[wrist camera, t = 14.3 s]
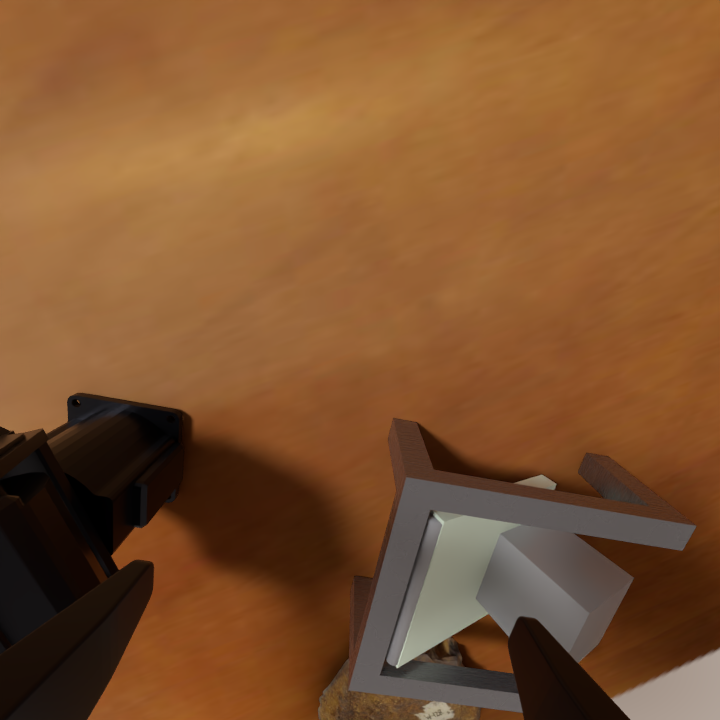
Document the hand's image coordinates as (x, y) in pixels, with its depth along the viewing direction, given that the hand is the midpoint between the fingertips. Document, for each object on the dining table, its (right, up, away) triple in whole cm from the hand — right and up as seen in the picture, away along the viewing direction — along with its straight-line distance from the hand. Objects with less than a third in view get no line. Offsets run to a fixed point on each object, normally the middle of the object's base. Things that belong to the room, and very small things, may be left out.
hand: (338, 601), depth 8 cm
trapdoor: (+7, -6, +13) cm, 16 cm away
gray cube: (+10, -7, +14) cm, 18 cm away
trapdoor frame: (+8, -6, +15) cm, 18 cm away
